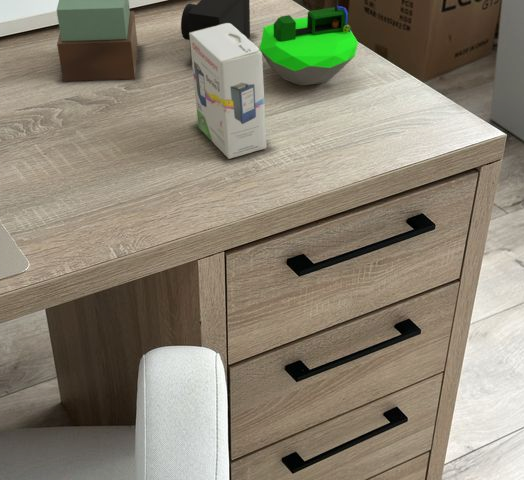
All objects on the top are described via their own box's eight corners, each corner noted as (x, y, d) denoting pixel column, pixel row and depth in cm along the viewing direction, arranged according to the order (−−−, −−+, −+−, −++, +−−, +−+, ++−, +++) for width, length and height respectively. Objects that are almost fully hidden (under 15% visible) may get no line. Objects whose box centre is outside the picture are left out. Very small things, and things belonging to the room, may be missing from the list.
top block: (61, 41, 116) (56, 9, 114) (67, 14, 122) (62, -17, 120) (127, 39, 117) (123, 7, 114) (130, 12, 123) (126, -19, 120)
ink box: (267, 150, 107) (266, 49, 99) (226, 161, 105) (221, 60, 97) (233, 116, 112) (230, 19, 104) (193, 127, 111) (187, 29, 103)
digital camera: (213, 31, 130) (210, -20, 125) (250, 36, 128) (249, -15, 124) (182, 63, 123) (178, 10, 118) (221, 70, 121) (219, 16, 117)
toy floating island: (333, 51, 125) (337, -33, 117) (368, 91, 117) (375, 3, 109) (246, 65, 122) (244, -20, 115) (276, 108, 114) (276, 18, 106)
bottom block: (63, 81, 119) (56, 43, 116) (69, 50, 126) (64, 13, 123) (135, 79, 120) (130, 41, 116) (137, 47, 126) (134, 10, 123)
